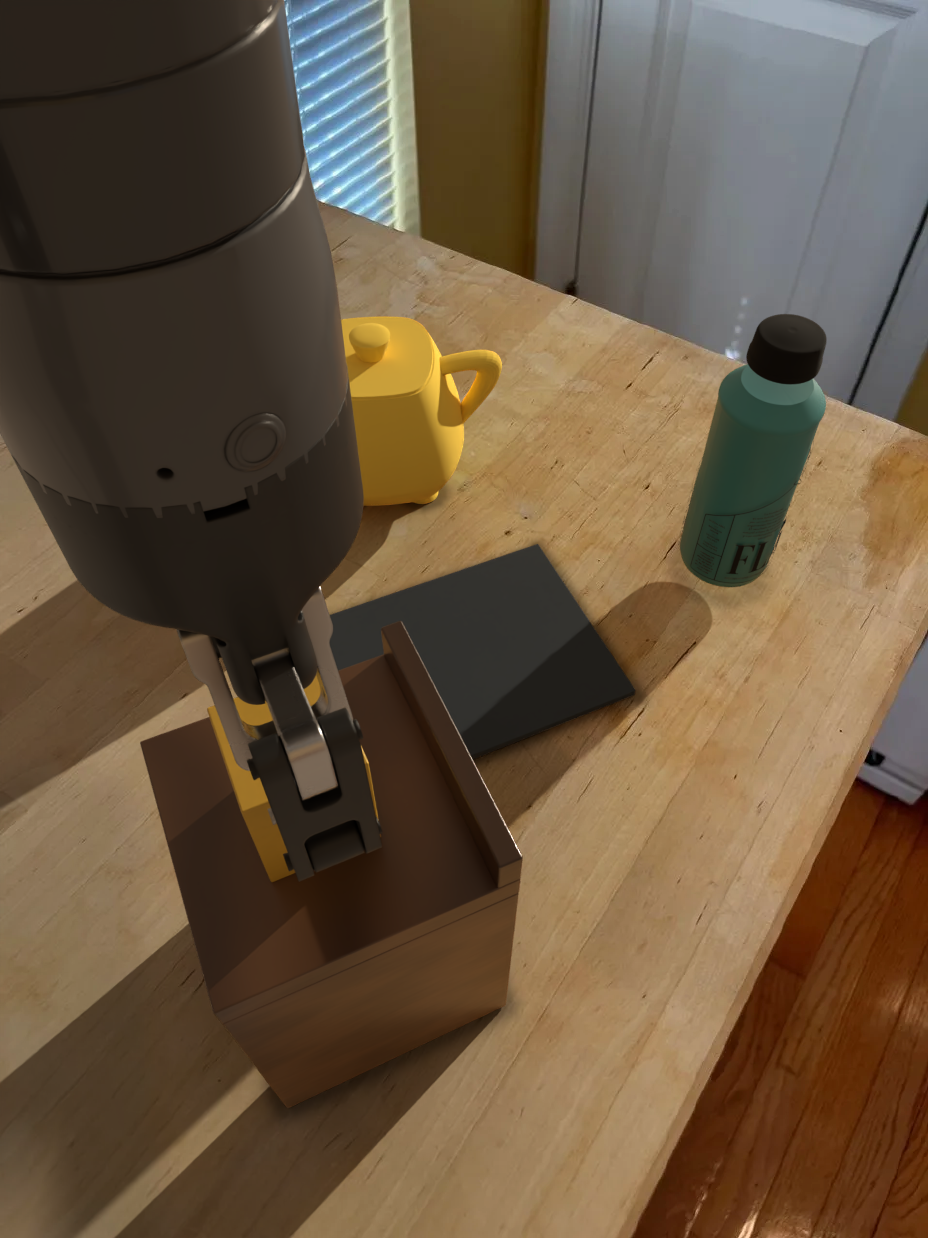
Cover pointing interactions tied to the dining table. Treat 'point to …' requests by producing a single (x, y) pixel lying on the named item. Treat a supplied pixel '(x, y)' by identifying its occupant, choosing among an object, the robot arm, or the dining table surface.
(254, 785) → the yellow block
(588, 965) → the dining table surface
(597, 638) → the slate mat
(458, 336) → the dining table surface
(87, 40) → the robot arm
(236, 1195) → the dining table surface
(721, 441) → the beverage bottle
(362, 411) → the teapot
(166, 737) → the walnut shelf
